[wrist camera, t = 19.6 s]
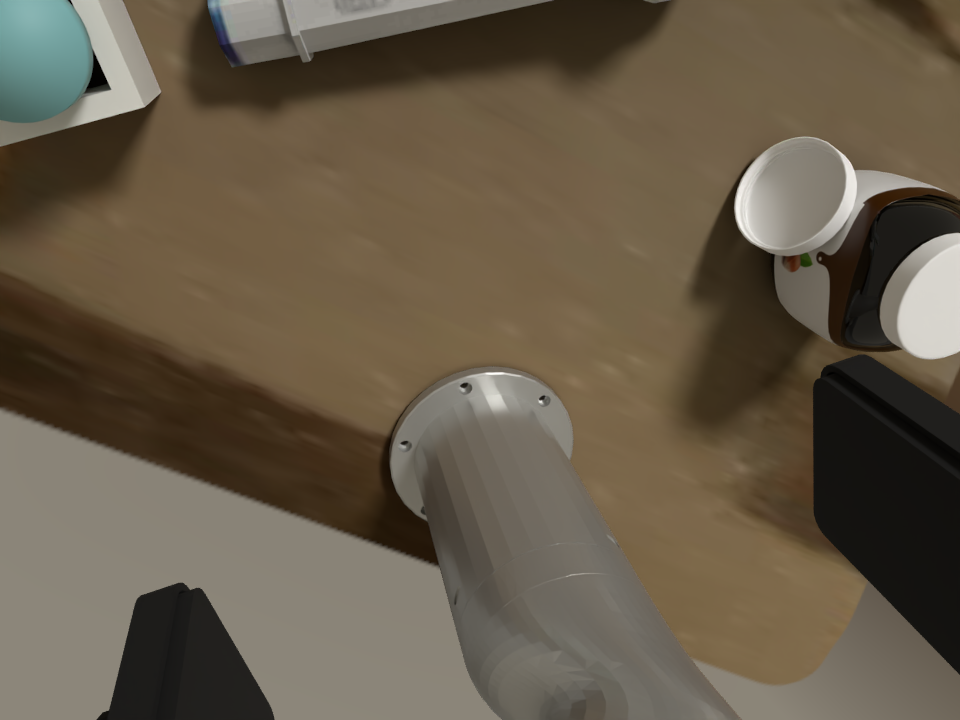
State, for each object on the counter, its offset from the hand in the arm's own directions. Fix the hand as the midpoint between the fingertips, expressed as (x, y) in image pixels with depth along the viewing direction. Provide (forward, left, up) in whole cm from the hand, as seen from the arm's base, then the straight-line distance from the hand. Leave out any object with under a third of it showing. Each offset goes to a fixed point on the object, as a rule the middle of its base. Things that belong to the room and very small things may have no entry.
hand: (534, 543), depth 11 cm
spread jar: (-13, -26, -34) cm, 44 cm away
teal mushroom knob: (+8, +12, -32) cm, 35 cm away
